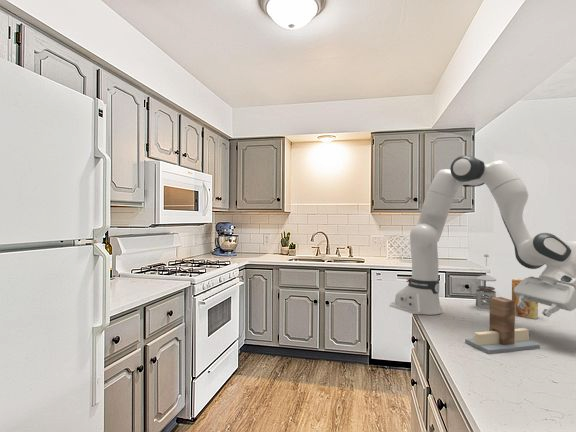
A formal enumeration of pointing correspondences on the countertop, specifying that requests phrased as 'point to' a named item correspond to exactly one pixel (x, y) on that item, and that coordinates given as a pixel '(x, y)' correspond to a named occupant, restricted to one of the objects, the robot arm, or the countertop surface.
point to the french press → (484, 292)
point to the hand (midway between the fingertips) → (531, 311)
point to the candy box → (530, 306)
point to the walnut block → (502, 319)
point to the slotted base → (504, 347)
